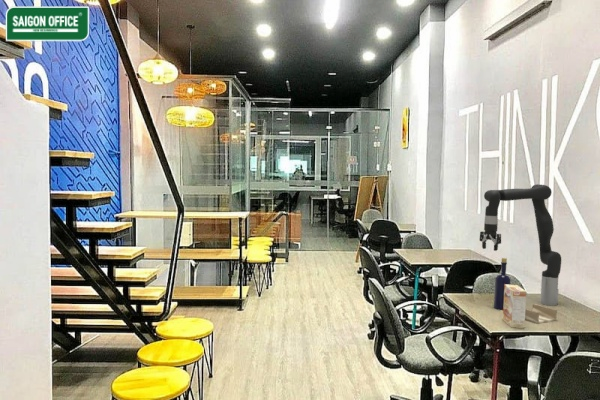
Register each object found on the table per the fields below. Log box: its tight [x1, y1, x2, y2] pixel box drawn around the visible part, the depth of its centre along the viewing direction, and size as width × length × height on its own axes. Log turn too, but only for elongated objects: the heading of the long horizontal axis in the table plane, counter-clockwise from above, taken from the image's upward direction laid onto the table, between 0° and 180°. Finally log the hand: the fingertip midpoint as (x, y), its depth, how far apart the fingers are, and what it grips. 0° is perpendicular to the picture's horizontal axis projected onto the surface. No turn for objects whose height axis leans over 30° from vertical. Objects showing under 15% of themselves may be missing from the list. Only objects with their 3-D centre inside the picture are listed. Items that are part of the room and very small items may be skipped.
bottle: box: [493, 257, 512, 311], centre depth 297 cm, size 9×9×30 cm
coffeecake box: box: [502, 284, 527, 329], centre depth 266 cm, size 15×7×20 cm, turn 174°
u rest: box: [525, 303, 558, 325], centre depth 278 cm, size 16×14×6 cm
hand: (489, 249), depth 306 cm, fingers open, 8 cm apart
